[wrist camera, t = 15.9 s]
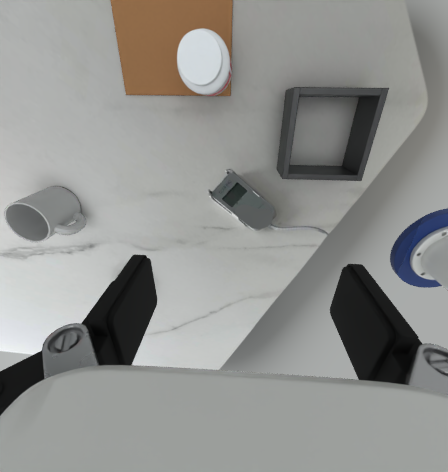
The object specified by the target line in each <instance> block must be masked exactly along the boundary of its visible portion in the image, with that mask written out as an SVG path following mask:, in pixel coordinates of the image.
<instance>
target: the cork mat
mask: <svg viewBox="0 0 448 472" xmlns="http://www.w3.org/2000/svg"><path fill="white" fill-rule="evenodd" d="M111 6H112V12H113V18H114V24H115V30H116V36H117V42H118V48H119V55H120V61H121V67H122V73H123V79H124V85H125V91H126V95H197V96H206V95H202V94H198V93H196V92H194V91H192V90H191V89H189V88H188V87H187V86H186V85H185V83H184V82H183V80H182V79H181V77H180V74H179V71H178V66H177V51H178V47H179V44H180V41H181V40H182V38H183V37H184V36H185V35H186V34H187V33H188V32H190V31H192V30H196V29H201V28H204V29H209V30H212V31H214V32H215V33H217V34H218V35H219V36H220V37H221V38H222V40H223V41H224V43H225V44H226V46H227V49H228V52H229V56H230V60H231V47H232V0H111ZM230 95H231V80H230V82H229V84H228V86H227V88H226V89H225V90H224V91H223V92H222V93H220V94H218V95H215V96H230Z"/></svg>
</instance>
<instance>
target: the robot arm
mask: <svg viewBox="0 0 448 472" xmlns="http://www.w3.org/2000/svg"><path fill="white" fill-rule="evenodd" d="M410 266H411V268H412V270H413V271H414V272H415V273H416V274H417V275H419V276H420V277H422V278H425V279H429V280H436V281H437V282H438V283H440V284H441V285H442V286H443V287H444V288H445V289H446V290H448V226H447V227H444V228H441V229H438V230H436V231H434V232H432V233H430V234H428V235H427V236H425V237H424V238H423V239H422V240H421V241H420V242H418V244H417V245H416V246H415V247H414V249H413V251H412V253H411V256H410ZM156 305H157V295H156V289H155V284H154V278H153V272H152V266H151V260H150V259H149V258H147V257H146V255H133V256H132V257H131V259H130V260H129V261H128V263H127V264H126V266H125V267H124V268H123V270H122V271H121V273H120V274H119V275H118V277H117V278H116V279H115V281H113V282H112V283H111V284H110V285H109V286H108V288H107V289H106V291H105V292H104V293H103V295H102V296H101V297H100V299H99V300H98V302H97V303H96V304H95V306H94V307H93V308H92V310H91V311H90V313H89V314H88V315H87V317H86V318H85V319H84V321H83V322H82V323H81V324H79V323H74V324H68V325H65V326H63V327H61V328H59V329H57V330H55V331H54V332H53V333H51V334H50V335H49V336H48V338H47V339H46V340H45V342H44V344H43V347H42V351H40V352H38V353H36V354H34V355H32V356H30V357H28V358H26V359H24V360H22V361H21V362H18V363H16V364H14V365H12V366H10V367H8V368H6V369H4V370H2V371H0V472H448V350H447V349H446V348H443V347H441V346H438V345H434V344H422V343H421V342H420V340H419V339H418V336H417V335H416V333H415V332H414V331H413V329H412V328H411V327H410V325H409V324H408V323H407V322H406V320H405V319H404V318H403V317H402V315H401V314H400V313H399V311H398V310H397V309H396V307H395V306H394V305H393V304H392V302H391V301H390V300H389V298H388V297H387V296H386V294H385V293H384V292H383V291H382V289H381V288H380V287H379V285H378V284H377V283H376V281H375V280H374V279H373V278H372V276H371V275H370V274H369V272H368V271H367V270H366V269H365V267H364V266H363V265H359V264H348V265H347V266H346V267H344V268H343V269H342V272H341V276H340V279H339V282H338V285H337V288H336V291H335V294H334V298H333V301H332V304H331V307H330V313H331V316H332V319H333V321H334V323H335V326H336V328H337V330H338V333H339V335H340V337H341V340H342V342H343V344H344V347H345V349H346V351H347V354H348V356H349V358H350V360H351V363H352V365H353V367H354V370H355V372H356V374H357V376H358V379H359V380H354V379H342V378H328V377H313V376H299V375H284V374H270V373H255V372H239V371H224V370H208V369H191V368H174V367H157V366H133V365H132V362H133V360H134V358H135V355H136V353H137V350H138V348H139V346H140V343H141V341H142V339H143V336H144V334H145V331H146V329H147V327H148V324H149V322H150V319H151V317H152V315H153V312H154V310H155V308H156Z"/></svg>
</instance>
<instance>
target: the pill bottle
mask: <svg viewBox="0 0 448 472" xmlns="http://www.w3.org/2000/svg"><path fill="white" fill-rule="evenodd" d="M177 66H178V71H179V74H180V77H181V79H182V80H183V82H184V83H185V85H186V86H187V87H188V88H189V89H191V90H192V91H194V92H196V93H198V94H202V95H206V96H215V95H218V94H220V93H222V92H223V91H224V90H225V89H226V88H227V86H228V84H229V82H230V80H231V75H232V65H231V60H230V56H229V52H228V49H227V46H226V44H225V43H224V41H223V40H222V38H221V37H220V36H219V35H218V34H217V33H215V32H214V31H212V30H209V29H204V28H201V29H196V30H192V31H190V32H188V33H187V34H186V35H185V36H184V37H183V38H182V40H181V41H180V44H179V47H178V51H177Z"/></svg>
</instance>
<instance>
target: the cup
mask: <svg viewBox="0 0 448 472" xmlns="http://www.w3.org/2000/svg"><path fill="white" fill-rule="evenodd" d="M80 211H81V207H80V203H79V201H78V199H77V197H76V196H75V195H74V194H73V193H72V192H71V191H69V190H67V189H65V188H62V187H58V186H53V187H49V188H46V189H44V190H42V191H39V192H37V193H35V194H32V195H30V196H28V197H25V198H23V199H21V200H18V201H16V202H13V203H11V204H9V205H8V206H7V207H6V208H5V212H4V216H5V220H6V223H7V224H8V226H9V227H10V229H11V230H12V231H13V232H14V233H15V234H17V235H18V236H19V237H21V238H23V239H25V240H27V241H30V242H42V241H45V240H46V239H48V238H49V237H51V236H52V235H54V234H55V233H57V234H61V235H71V234H75V233H77V232H79V231H80V230H81V229H83V228H84V226H85V225H86V219H85V217H84V216H83V215H82V214H80ZM74 220H75V221H76V223H74V224H72V225H69V226H67V225H68V224H70V223H71V222H72V221H74Z"/></svg>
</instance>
